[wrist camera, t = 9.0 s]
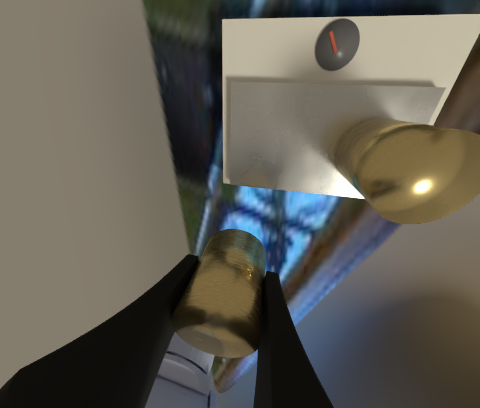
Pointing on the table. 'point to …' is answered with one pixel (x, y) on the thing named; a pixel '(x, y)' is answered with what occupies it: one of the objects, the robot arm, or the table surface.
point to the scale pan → (310, 130)
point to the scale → (345, 53)
